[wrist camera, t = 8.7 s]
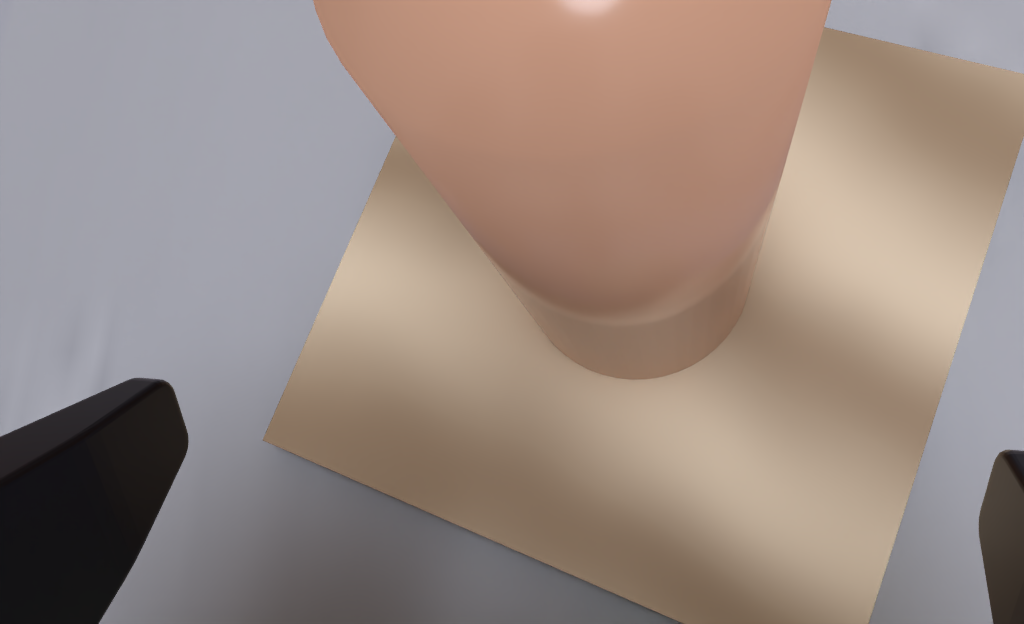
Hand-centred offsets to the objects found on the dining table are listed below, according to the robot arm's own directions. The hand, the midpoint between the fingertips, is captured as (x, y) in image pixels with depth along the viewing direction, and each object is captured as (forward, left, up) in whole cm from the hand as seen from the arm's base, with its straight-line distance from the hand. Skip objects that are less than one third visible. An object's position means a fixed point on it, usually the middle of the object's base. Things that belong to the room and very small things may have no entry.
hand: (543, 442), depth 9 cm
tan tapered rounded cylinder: (+5, +1, -10) cm, 11 cm away
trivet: (+5, +1, -11) cm, 12 cm away
